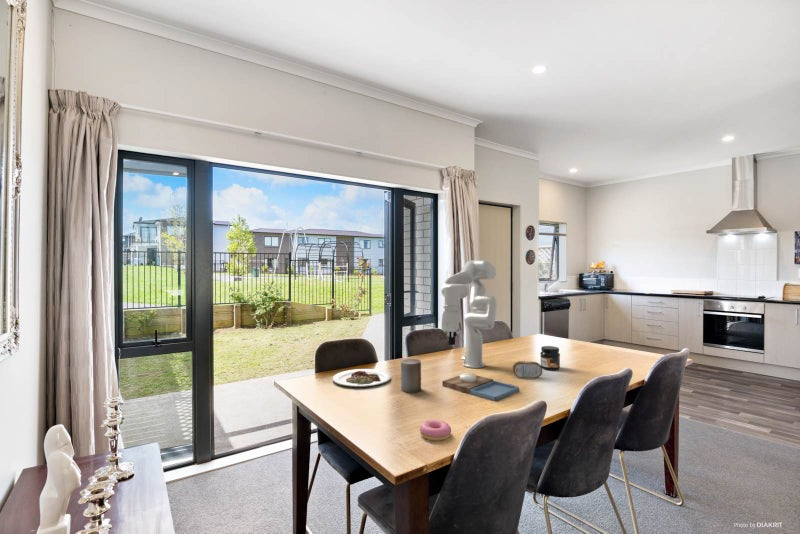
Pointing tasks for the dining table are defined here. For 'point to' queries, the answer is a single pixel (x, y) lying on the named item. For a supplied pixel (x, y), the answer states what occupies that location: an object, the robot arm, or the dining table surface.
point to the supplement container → (550, 358)
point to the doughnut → (435, 430)
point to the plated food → (361, 377)
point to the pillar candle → (411, 375)
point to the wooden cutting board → (464, 383)
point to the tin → (527, 369)
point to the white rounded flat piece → (468, 377)
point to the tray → (494, 390)
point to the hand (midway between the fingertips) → (451, 344)
